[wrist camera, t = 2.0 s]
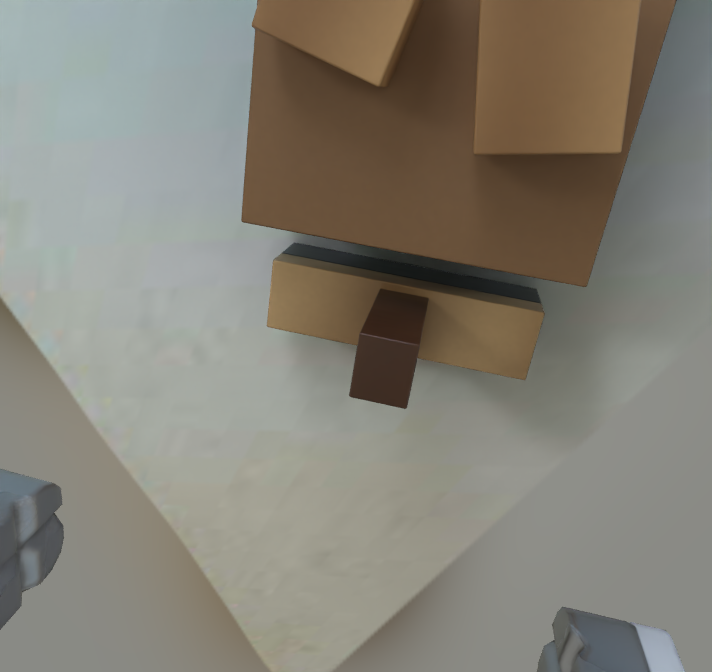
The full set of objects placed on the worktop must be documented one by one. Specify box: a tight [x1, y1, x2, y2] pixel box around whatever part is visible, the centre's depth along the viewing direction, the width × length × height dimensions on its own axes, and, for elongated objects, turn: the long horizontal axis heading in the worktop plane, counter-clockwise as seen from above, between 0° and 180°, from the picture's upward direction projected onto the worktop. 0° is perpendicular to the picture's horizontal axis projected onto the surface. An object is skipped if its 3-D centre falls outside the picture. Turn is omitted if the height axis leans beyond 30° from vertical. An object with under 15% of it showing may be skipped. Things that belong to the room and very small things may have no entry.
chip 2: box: [473, 0, 641, 155], centre depth 17 cm, size 4×4×2 cm
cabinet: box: [241, 0, 677, 287], centre depth 21 cm, size 12×14×6 cm
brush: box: [267, 243, 545, 409], centre depth 24 cm, size 11×3×8 cm, turn 81°
